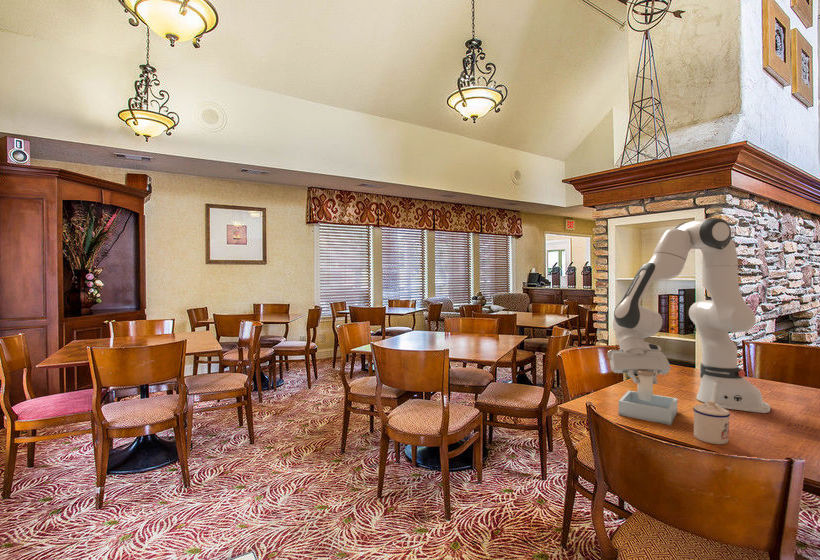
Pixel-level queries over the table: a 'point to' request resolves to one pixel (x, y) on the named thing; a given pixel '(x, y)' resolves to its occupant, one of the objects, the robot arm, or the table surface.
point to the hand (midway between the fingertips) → (646, 382)
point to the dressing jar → (645, 385)
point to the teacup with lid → (711, 423)
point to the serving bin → (648, 408)
